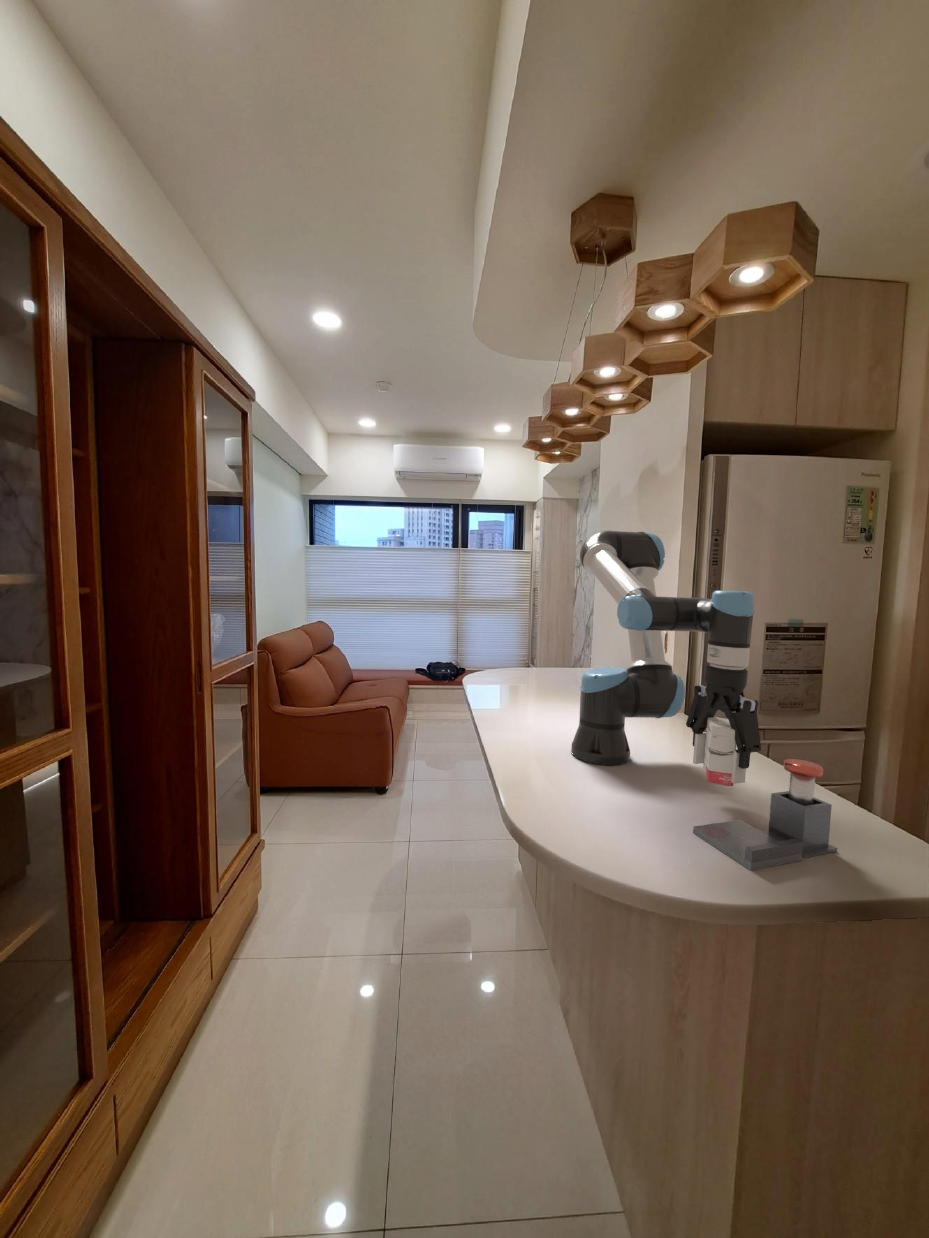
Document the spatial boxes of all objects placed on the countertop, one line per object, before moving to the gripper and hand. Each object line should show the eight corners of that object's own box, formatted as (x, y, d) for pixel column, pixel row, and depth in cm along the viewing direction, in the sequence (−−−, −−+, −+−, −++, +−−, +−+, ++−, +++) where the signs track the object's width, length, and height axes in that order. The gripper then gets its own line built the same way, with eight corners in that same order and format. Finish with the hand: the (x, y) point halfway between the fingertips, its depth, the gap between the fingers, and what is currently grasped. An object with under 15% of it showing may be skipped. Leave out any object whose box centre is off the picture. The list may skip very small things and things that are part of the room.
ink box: (733, 787, 93) (739, 729, 92) (706, 783, 95) (711, 726, 94) (727, 771, 101) (732, 718, 100) (702, 767, 103) (706, 714, 102)
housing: (760, 834, 86) (763, 791, 86) (792, 828, 89) (795, 787, 88) (803, 858, 79) (806, 811, 78) (837, 851, 81) (840, 806, 81)
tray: (693, 832, 86) (694, 815, 86) (739, 825, 89) (740, 809, 89) (750, 870, 75) (752, 850, 74) (801, 860, 78) (803, 841, 78)
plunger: (773, 809, 85) (776, 760, 85) (795, 806, 87) (799, 757, 86) (803, 824, 80) (807, 771, 79) (827, 820, 82) (831, 769, 81)
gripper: (673, 657, 105) (665, 754, 107) (761, 678, 85) (749, 798, 87) (699, 656, 108) (692, 751, 110) (792, 676, 87) (780, 793, 89)
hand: (717, 772), depth 98 cm, fingers closed on ink box, 9 cm apart
